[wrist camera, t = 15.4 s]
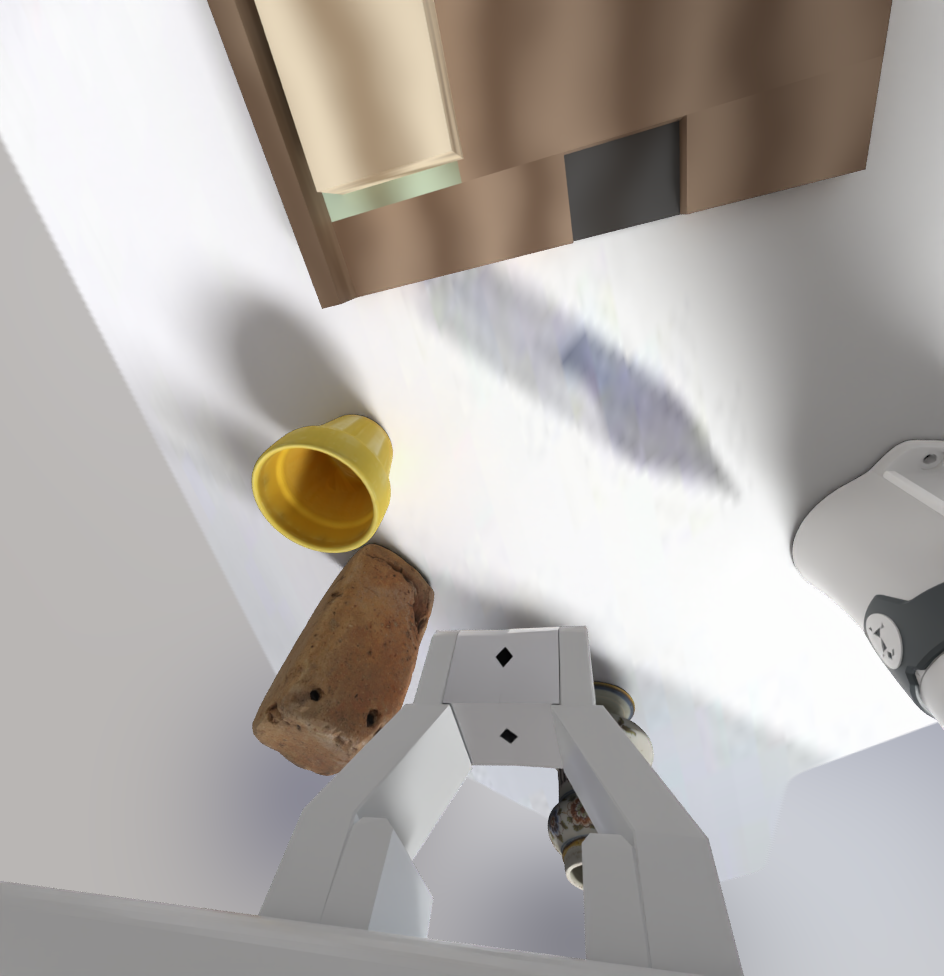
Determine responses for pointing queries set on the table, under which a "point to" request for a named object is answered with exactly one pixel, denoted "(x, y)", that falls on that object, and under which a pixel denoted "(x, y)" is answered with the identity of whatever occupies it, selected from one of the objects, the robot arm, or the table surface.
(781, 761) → the table surface
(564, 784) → the apothecary jar
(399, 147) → the maple block
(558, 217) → the box
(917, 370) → the table surface
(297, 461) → the plant pot
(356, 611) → the block
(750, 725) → the table surface
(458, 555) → the table surface
